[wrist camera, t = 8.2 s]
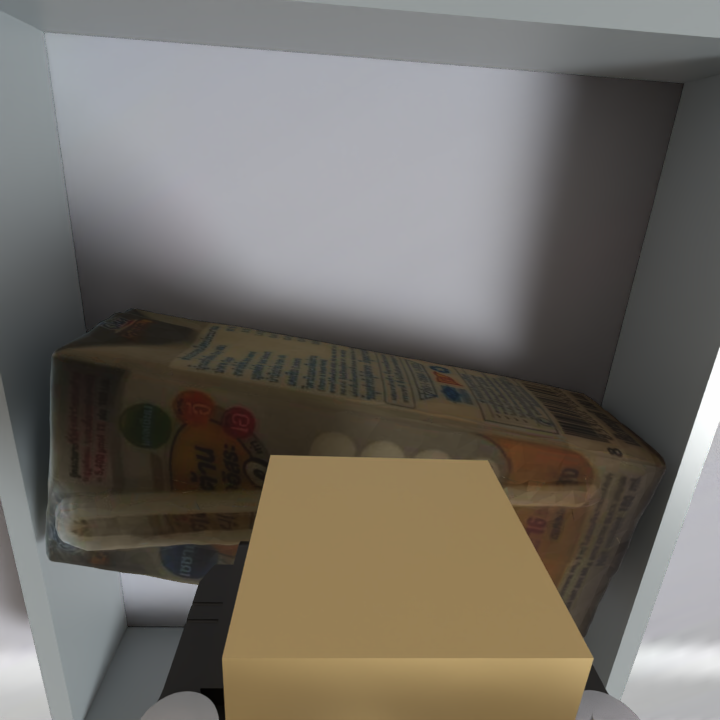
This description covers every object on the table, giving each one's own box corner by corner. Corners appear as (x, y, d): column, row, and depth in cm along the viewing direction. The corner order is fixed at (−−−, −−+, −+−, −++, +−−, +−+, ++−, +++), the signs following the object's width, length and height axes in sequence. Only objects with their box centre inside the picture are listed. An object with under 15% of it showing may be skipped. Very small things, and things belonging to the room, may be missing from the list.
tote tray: (12, -1, 15) (-135, -82, 10) (713, 58, 16) (864, 10, 12) (112, 639, 24) (58, 749, 20) (555, 641, 26) (604, 744, 21)
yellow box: (270, 454, 11) (221, 658, 6) (487, 460, 11) (593, 658, 7) (272, 649, 13) (236, 910, 8) (455, 649, 13) (519, 901, 9)
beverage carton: (126, 290, 19) (21, 348, 12) (591, 382, 21) (699, 469, 15) (115, 468, 21) (25, 588, 15) (529, 532, 23) (599, 659, 17)
